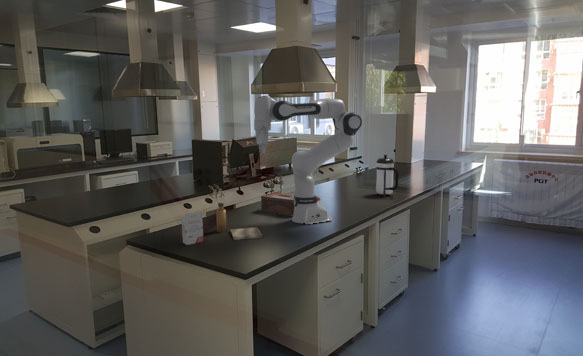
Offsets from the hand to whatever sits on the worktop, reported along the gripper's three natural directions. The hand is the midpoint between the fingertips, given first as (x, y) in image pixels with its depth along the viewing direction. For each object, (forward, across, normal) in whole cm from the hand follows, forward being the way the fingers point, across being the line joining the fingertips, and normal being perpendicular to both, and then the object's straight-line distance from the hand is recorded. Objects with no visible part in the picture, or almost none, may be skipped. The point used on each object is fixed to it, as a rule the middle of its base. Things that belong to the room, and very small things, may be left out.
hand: (262, 153), depth 213 cm
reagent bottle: (+40, -5, +21) cm, 46 cm away
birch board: (+40, -14, +10) cm, 44 cm away
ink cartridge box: (+42, -21, +35) cm, 59 cm away
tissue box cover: (+37, +28, -19) cm, 50 cm away
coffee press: (+32, +60, -101) cm, 122 cm away
